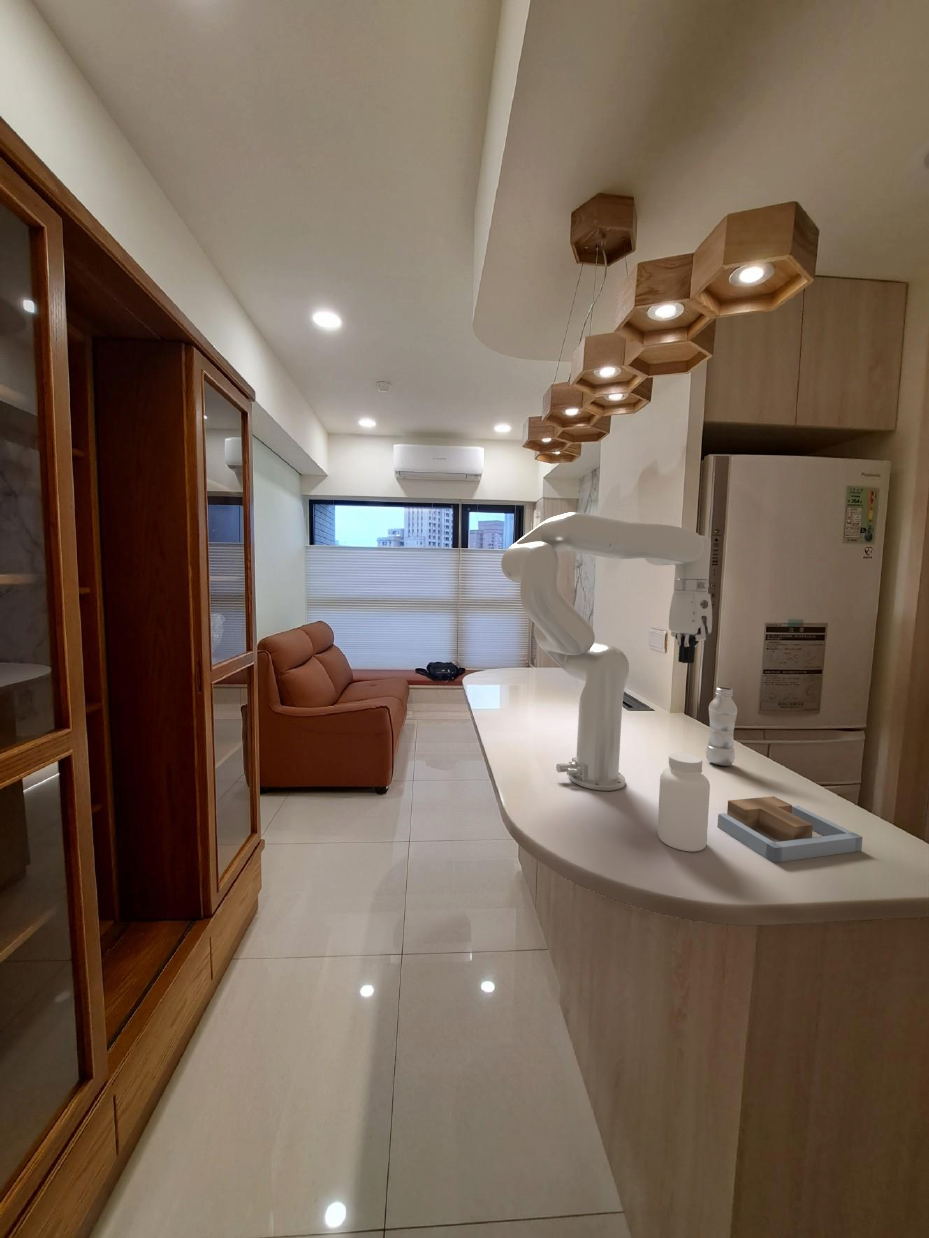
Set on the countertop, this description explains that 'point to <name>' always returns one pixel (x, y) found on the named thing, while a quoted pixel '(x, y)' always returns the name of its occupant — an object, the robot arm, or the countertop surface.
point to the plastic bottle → (721, 728)
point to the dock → (829, 844)
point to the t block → (770, 818)
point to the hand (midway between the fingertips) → (686, 662)
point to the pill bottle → (683, 803)
